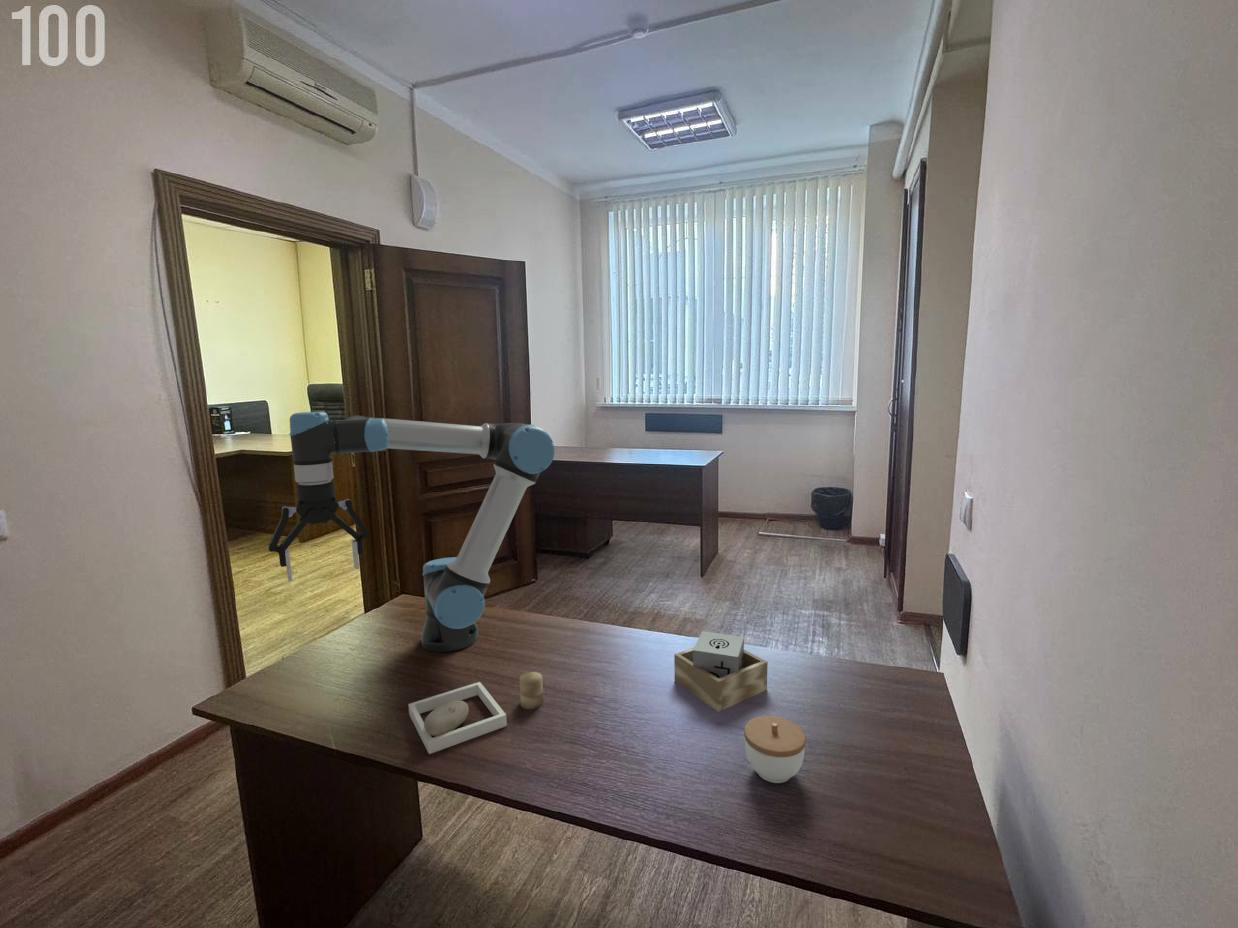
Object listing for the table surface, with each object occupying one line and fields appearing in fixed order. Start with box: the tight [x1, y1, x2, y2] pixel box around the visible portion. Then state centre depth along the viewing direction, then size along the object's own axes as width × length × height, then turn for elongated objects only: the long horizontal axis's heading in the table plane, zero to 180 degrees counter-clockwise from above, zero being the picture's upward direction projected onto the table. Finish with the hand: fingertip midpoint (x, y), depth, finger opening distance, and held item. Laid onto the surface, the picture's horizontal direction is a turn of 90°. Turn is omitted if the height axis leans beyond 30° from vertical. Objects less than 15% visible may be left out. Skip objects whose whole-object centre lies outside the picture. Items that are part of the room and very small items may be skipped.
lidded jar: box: [743, 715, 807, 784], centre depth 103 cm, size 11×11×9 cm
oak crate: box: [673, 647, 769, 713], centre depth 132 cm, size 15×15×7 cm
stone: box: [423, 700, 470, 737], centre depth 117 cm, size 6×6×12 cm
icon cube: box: [693, 630, 745, 678], centre depth 132 cm, size 10×10×10 cm
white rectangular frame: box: [407, 681, 508, 755], centre depth 121 cm, size 16×16×2 cm
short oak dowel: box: [519, 671, 544, 710], centre depth 127 cm, size 5×5×6 cm
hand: (324, 573), depth 130 cm, fingers open, 13 cm apart
